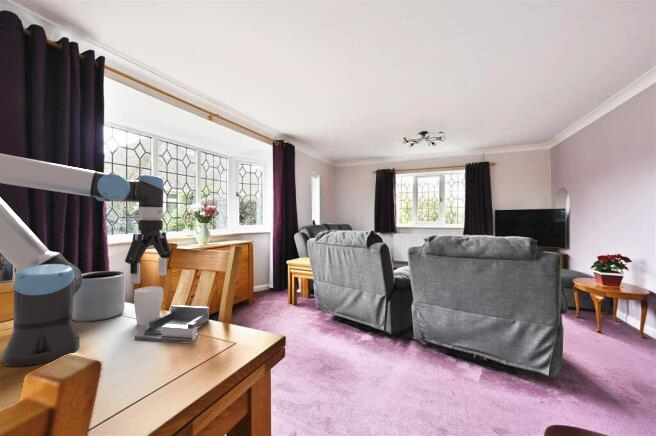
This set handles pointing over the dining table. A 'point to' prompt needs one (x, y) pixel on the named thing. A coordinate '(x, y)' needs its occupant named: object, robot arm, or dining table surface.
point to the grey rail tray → (181, 317)
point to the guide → (151, 338)
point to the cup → (147, 304)
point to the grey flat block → (180, 331)
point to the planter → (99, 296)
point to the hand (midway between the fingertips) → (149, 279)
